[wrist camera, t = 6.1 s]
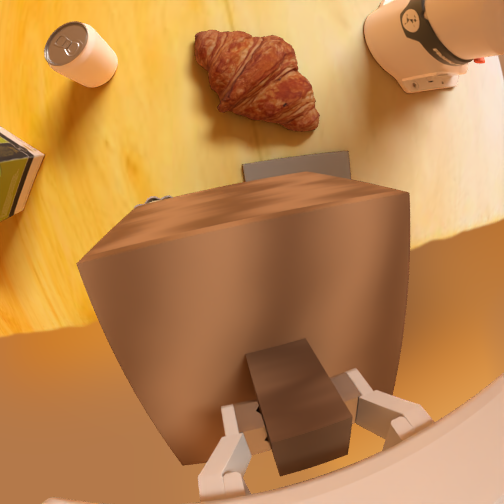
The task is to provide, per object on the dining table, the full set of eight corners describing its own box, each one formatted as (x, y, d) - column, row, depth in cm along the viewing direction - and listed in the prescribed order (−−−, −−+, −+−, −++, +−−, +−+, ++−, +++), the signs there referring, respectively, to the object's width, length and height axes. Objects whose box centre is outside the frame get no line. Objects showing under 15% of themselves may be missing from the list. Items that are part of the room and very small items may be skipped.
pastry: (309, 38, 35) (330, 20, 28) (315, 132, 40) (339, 129, 33) (194, 36, 33) (194, 13, 25) (198, 135, 38) (197, 132, 30)
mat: (346, 150, 42) (348, 151, 41) (353, 249, 47) (355, 250, 47) (242, 164, 40) (243, 164, 39) (259, 269, 46) (260, 271, 45)
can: (99, 95, 33) (65, 78, 22) (70, 77, 31) (31, 57, 20) (127, 59, 32) (103, 29, 21) (96, 41, 30) (66, 11, 19)
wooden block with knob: (306, 171, 24) (496, 218, 7) (321, 316, 29) (426, 456, 12) (136, 206, 22) (16, 332, 5) (181, 350, 27) (187, 529, 10)
